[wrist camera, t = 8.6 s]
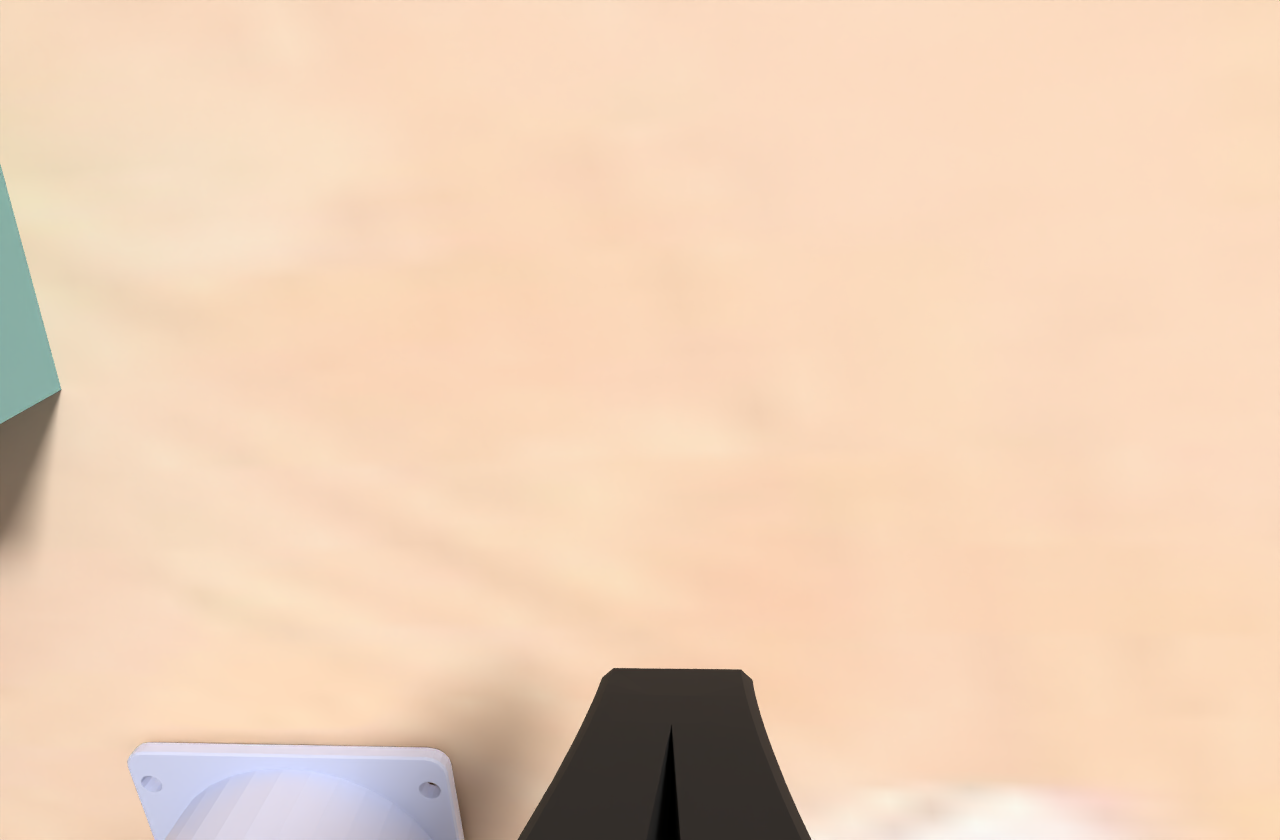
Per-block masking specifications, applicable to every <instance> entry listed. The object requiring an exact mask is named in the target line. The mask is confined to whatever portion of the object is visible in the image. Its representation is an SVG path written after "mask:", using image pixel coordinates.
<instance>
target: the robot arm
mask: <svg viewBox="0 0 1280 840" xmlns="http://www.w3.org/2000/svg"><path fill="white" fill-rule="evenodd" d="M127 763H128V768H129V771H130V774H131V776H132V779H133V782H134V785H135V787H136V790H137V793H138V795H139V798H140V801H141V804H142V806H143V809H144V812H145V815H146V817H147V820H148V823H149V825H150V828H151V831H152V834H153V836H154V839H155V840H464V834H463V829H462V823H461V817H460V811H459V805H458V799H457V794H456V788H455V782H454V776H453V770H452V764H451V762H450V759H449V757H448V756H447V755H446V754H445V753H443V752H442V751H440V750H438V749H435V748H427V747H372V746H317V745H263V744H208V743H153V742H148V743H142V744H140V745H139V746H137V747H136V749H135V750H134V751H133V752H132V754H131V755H130V756H129V758H128V760H127ZM428 782H431V783H435V784H436V785H437V786H435V785H431V784H429V783H428ZM518 840H811V838H810V836H809V834H808V831H807V829H806V827H805V825H804V823H803V821H802V819H801V817H800V815H799V813H798V810H797V808H796V806H795V803H794V801H793V799H792V797H791V794H790V792H789V790H788V787H787V785H786V783H785V780H784V778H783V775H782V773H781V770H780V767H779V765H778V762H777V760H776V757H775V755H774V752H773V750H772V747H771V744H770V741H769V739H768V736H767V733H766V730H765V727H764V724H763V721H762V718H761V715H760V711H759V708H758V704H757V700H756V696H755V692H754V687H753V681H752V679H751V678H750V677H748V676H747V675H746V674H745V673H744V672H743V671H742V670H732V669H639V668H613V669H612V670H611V671H610V672H608V673H607V674H606V675H605V676H604V677H603V678H602V680H601V682H600V685H599V687H598V690H597V692H596V695H595V697H594V699H593V702H592V704H591V706H590V708H589V710H588V713H587V715H586V717H585V719H584V721H583V723H582V725H581V727H580V729H579V731H578V733H577V735H576V737H575V739H574V741H573V743H572V745H571V747H570V749H569V751H568V753H567V755H566V756H565V758H564V760H563V762H562V764H561V766H560V768H559V769H558V771H557V773H556V775H555V777H554V779H553V781H552V782H551V784H550V786H549V787H548V789H547V791H546V792H545V794H544V796H543V798H542V799H541V801H540V803H539V804H538V806H537V808H536V809H535V811H534V813H533V815H532V816H531V818H530V820H529V821H528V823H527V825H526V826H525V828H524V830H523V831H522V833H521V835H520V837H519V838H518Z"/></svg>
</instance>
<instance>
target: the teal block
mask: <svg viewBox="0 0 1280 840" xmlns="http://www.w3.org/2000/svg"><path fill="white" fill-rule="evenodd" d="M60 390H61V387H60V383H59V379H58V376H57V372H56V368H55V364H54V361H53V357H52V353H51V350H50V346H49V342H48V339H47V335H46V331H45V328H44V324H43V320H42V316H41V313H40V309H39V305H38V302H37V298H36V294H35V291H34V287H33V283H32V279H31V276H30V272H29V268H28V265H27V261H26V257H25V254H24V250H23V246H22V242H21V239H20V235H19V231H18V228H17V224H16V220H15V217H14V213H13V209H12V205H11V202H10V198H9V194H8V191H7V187H6V183H5V180H4V176H3V172H2V169H1V165H0V424H1V423H3V422H5V421H6V420H8V419H10V418H12V417H13V416H15V415H17V414H19V413H21V412H22V411H24V410H26V409H28V408H29V407H31V406H33V405H35V404H37V403H38V402H40V401H42V400H44V399H45V398H47V397H49V396H51V395H53V394H54V393H56V392H58V391H60Z"/></svg>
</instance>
